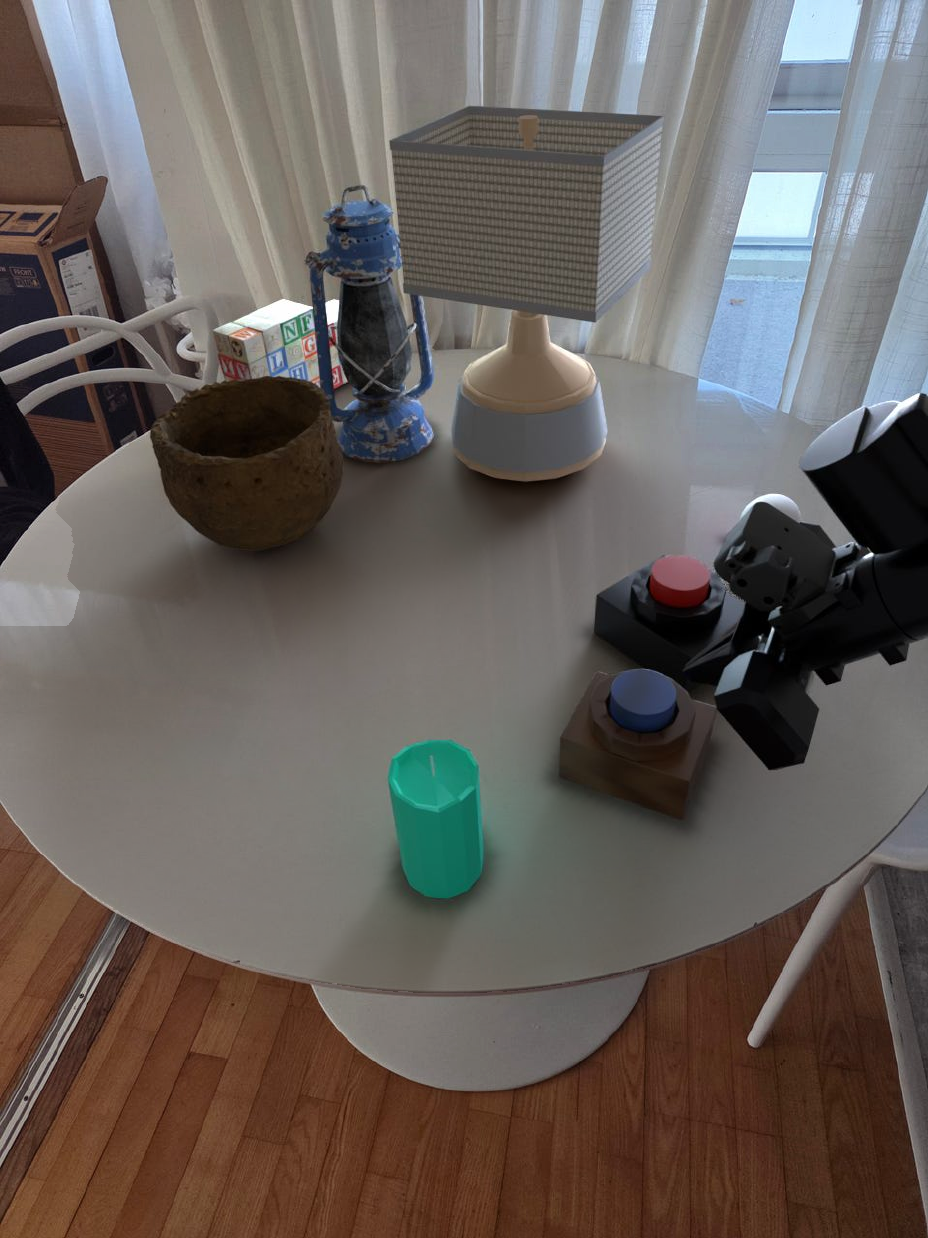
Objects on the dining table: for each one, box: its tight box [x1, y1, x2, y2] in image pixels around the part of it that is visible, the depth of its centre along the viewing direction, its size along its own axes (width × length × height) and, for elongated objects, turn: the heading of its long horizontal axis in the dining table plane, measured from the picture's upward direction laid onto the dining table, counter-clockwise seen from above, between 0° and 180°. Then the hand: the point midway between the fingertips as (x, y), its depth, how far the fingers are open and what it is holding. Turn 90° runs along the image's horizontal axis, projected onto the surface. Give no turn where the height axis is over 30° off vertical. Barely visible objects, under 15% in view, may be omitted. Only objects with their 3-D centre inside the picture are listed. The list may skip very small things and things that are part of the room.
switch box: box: [593, 554, 746, 694], centre depth 77 cm, size 11×9×6 cm
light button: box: [649, 554, 710, 608], centre depth 75 cm, size 5×5×2 cm
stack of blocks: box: [212, 298, 349, 390], centre depth 118 cm, size 21×6×12 cm, turn 141°
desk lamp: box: [389, 105, 665, 483], centre depth 94 cm, size 22×19×37 cm
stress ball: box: [738, 493, 802, 522], centre depth 88 cm, size 8×8×7 cm
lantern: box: [303, 184, 435, 464], centre depth 101 cm, size 15×12×30 cm
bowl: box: [149, 376, 345, 552], centre depth 91 cm, size 19×19×15 cm
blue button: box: [610, 668, 677, 733], centre depth 64 cm, size 5×5×2 cm
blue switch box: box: [558, 670, 718, 821], centre depth 67 cm, size 10×8×6 cm
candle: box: [387, 739, 485, 900], centre depth 59 cm, size 6×6×12 cm
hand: (687, 673), depth 61 cm, fingers closed
